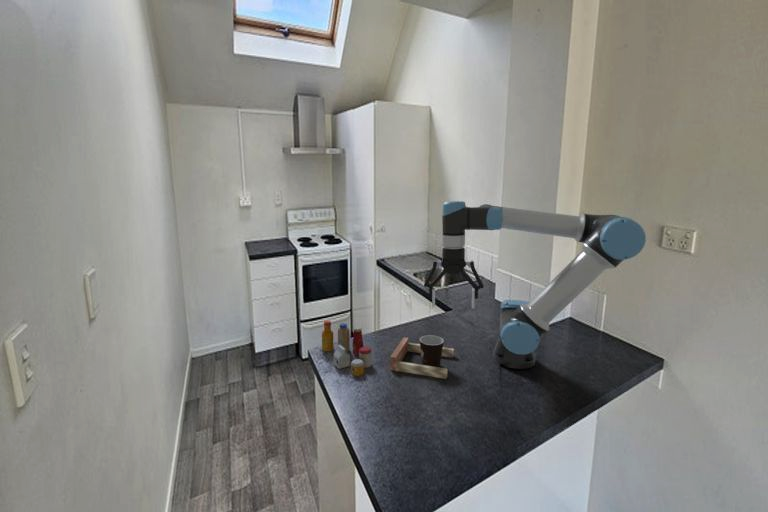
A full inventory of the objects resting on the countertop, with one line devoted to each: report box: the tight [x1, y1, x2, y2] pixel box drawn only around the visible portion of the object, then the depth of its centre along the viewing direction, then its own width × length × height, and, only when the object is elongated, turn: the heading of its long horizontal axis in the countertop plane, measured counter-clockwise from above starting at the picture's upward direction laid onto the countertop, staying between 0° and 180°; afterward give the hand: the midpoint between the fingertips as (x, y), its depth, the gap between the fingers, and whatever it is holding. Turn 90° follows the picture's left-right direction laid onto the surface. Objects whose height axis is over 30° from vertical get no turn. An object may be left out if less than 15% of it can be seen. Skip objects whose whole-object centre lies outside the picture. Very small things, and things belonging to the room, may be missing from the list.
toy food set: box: [321, 320, 373, 377], centre depth 140 cm, size 27×13×12 cm, turn 32°
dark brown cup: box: [419, 334, 444, 368], centre depth 136 cm, size 12×9×10 cm
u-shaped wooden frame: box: [389, 337, 455, 379], centre depth 137 cm, size 20×18×5 cm
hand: (453, 306), depth 130 cm, fingers open, 13 cm apart
